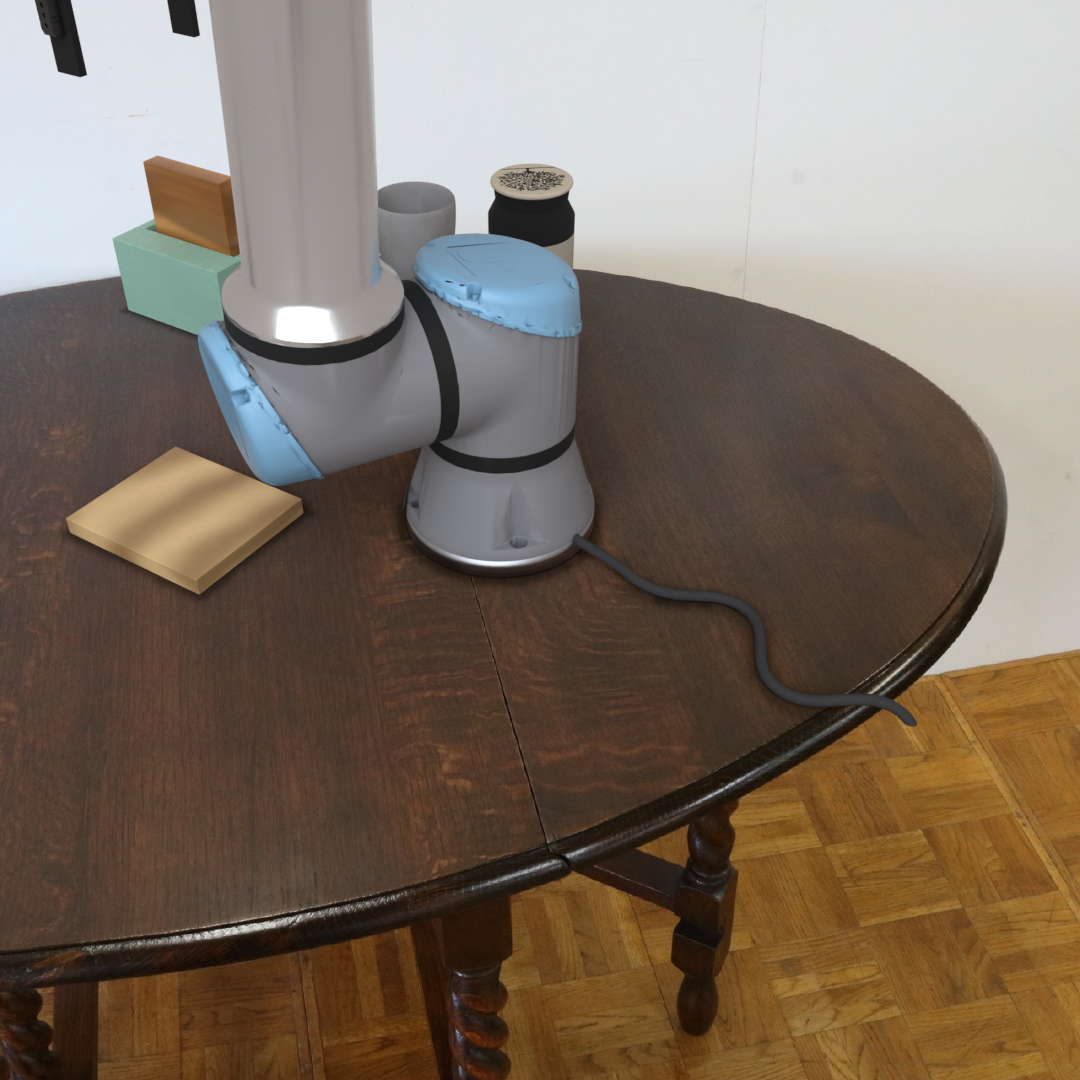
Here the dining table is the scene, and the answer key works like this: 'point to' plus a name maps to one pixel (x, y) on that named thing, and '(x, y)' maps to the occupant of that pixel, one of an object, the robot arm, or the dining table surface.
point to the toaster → (172, 277)
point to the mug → (412, 221)
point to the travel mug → (534, 207)
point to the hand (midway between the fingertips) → (132, 53)
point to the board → (186, 518)
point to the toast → (192, 204)
